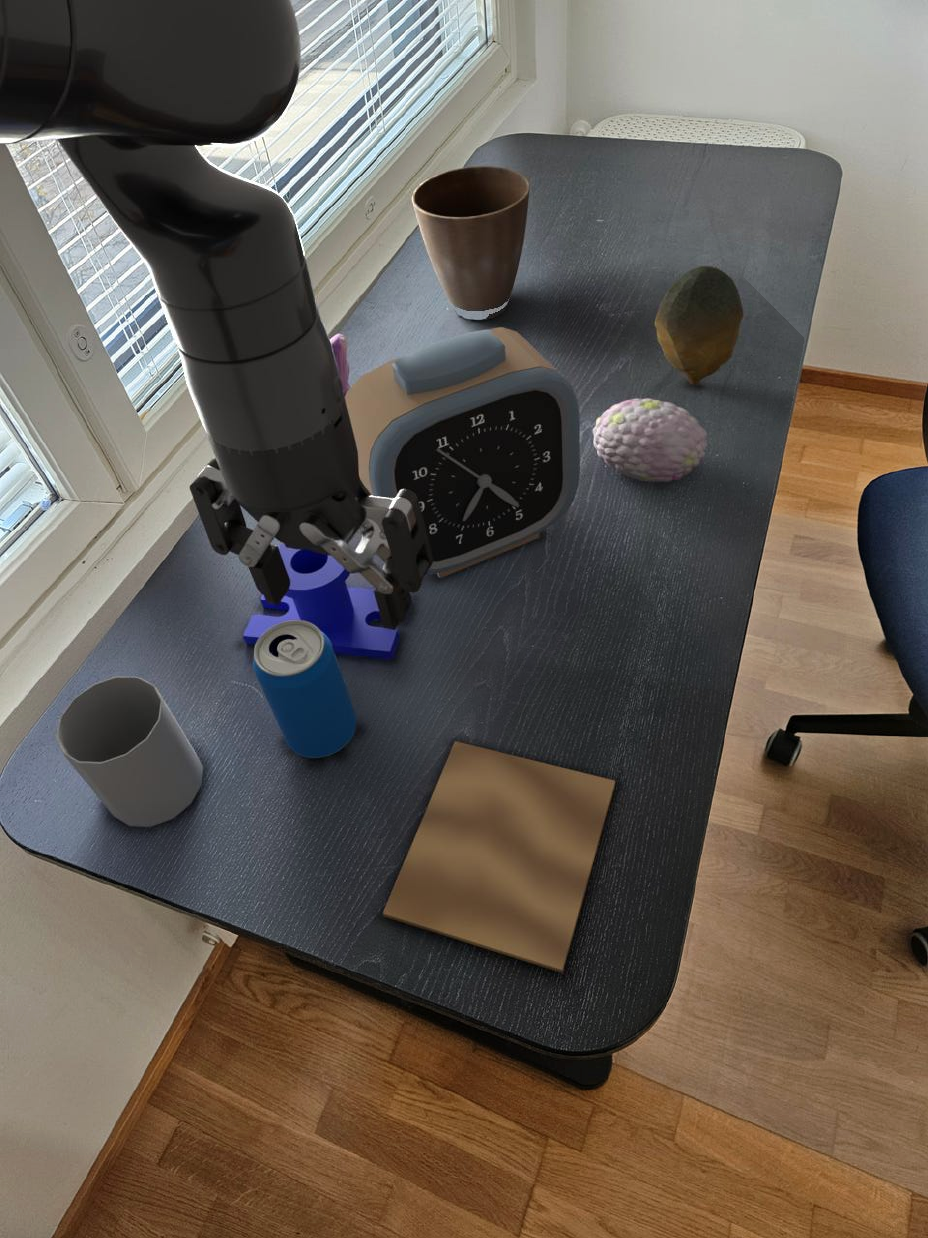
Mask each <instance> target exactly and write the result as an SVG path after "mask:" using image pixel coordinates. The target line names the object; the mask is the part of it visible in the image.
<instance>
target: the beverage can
mask: <svg viewBox="0 0 928 1238" xmlns="http://www.w3.org/2000/svg"><path fill="white" fill-rule="evenodd" d="M337 659H338V658H337V656H336V654H335V653H334V650H333V647H332V644H331V642H330V640H329V638H328V637H327V636H326V635H325V634H324V633H323V632H322V631H320V630H319V629H318V628H317V627H316V626H315V625H313V624H312V623H309V622H306V621H302V620H291V621H285V622H282V623H279V624H277V625H274V626H273V627H271V628H269V629H268V630H267V631H265V632H264V633H263V634H262V635H261V637H260V638H259V639H258V641H257V643H256V645H254V649H253V659H252V661H253V662H252V665H253V666H252V669H253V672H254V674H255V677H256V679H257V682H258V683H259V686H260V688H261V690H262V692H263V695H264V696H265V699H266V701H267V703H268V706H269V708H270V709H271V712H272V714H273V717H274V718H275V720H276V723H277V725H278V727H279V730H280V731H281V733H282V736H283V738H284V740H285V742H286V744H287V746H288V747H289V749H290V750H292V751H293V752H294V753H295V754H297V755H299V756H300V757H304V758H310V759H319V758H325V757H328V756H331V755H333V754H334V755H335V753H338V752H339V751H341V750H342V749H343V748H345V747H346V746H347V745H348V744H349V743H350V741H351V739H352V738H353V737H354V736H355V735H354V734H355V732H356V729H357V725H358V723H357V722H358V721H357V715H356V711H355V710H354V706H353V703H352V701H351V698H350V693H349V691H348V689H347V686H346V682H345V680H344V677H343V674H342V670H341V668H340V665H339V662H338V660H337Z"/></svg>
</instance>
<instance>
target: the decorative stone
mask: <svg viewBox="0 0 928 1238" xmlns="http://www.w3.org/2000/svg"><path fill="white" fill-rule="evenodd" d="M658 308H659V309H658V311H657V313H656V316H655V320H654V326H655V329H656V336H657V341H658V344H659V345H660V347H661V349H662V351H663V356H664V357H665V359H666V360H667V361H668V363H670V364H671V365H672V366H673V368H674V369H676V370H677V371H679V372H680V373H683V375H684V376H685V377H686V379H687V382H689V384H691V385H693V386H698V385H701V382H702V381H703V380H704V379H705V378H707V377H710V376H712V375H714V374H715V373H716V372H717V371H719V370H720V369H721V368H720V367H721V366H723V365H726V363H728V361H729V360H730V359H731V358H732V357H733V353H734V350H735V347H736V345H737V341H738V338H739V337H740V336H739V335H740V327H741V323H742V320H743V318H744V314H745V313H744V308H743V304H742V300H741V296H740V293H739V290H738V288H737V286H736V284H735V282H734V280H733V279H732V278H731V276H729V275H728V274H727V273H726V272H724V271H723V270H721V269H720V268H718V267H715V266H710V265H700V266H697V267H695V268H692V269H690V270H688V271H686V272H685V273H683V274H682V275H681V276H679V277H678V278H677V279H676V280H675V281H674V282H673V283H672V284H671V285H670V286H669V287H668V290H667V291H666V293H665V295H664V297H663V298H662V300H661V302H660V304H659V307H658Z"/></svg>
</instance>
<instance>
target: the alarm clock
mask: <svg viewBox="0 0 928 1238" xmlns="http://www.w3.org/2000/svg"><path fill="white" fill-rule="evenodd" d="M345 400H346V405H347V409H348V413H349V417H350V421H351V425H352V429H353V433H354V438H355V442H356V446H357V450H358V464H359V477H360V479H361V481H362V483H363V484H364V486H365V487H366V488H367V489H368V491H369V492H370V494H371V496H377V497H386V498H396V496H397V494H398V492H399V491H400V490H402V489H408V490H411V491H413V492H414V493H415V494H416V495H417V497H418V501H419V505H420V509H421V512H422V516H423V520H424V524H425V528H426V532H427V536H428V540H429V543H430V547H431V551H432V555H433V559H434V561H433V563H432V565H431V567H430V568H429V570H428V571H427V573H426V575H425V577H426V576H427V577H428V576H432V575H437V577H438V578H439V579H442V578H444V577H447V576H448V575H451V574H453V573H456V572H458V571H461V570H464V569H466V568H468V567H471V566H473V565H476V564H478V563H481V562H483V561H487V560H488V559H491V558H493V557H496V556H498V555H501V554H503V553H505V552H509V551H510V550H512V549H515V548H518V547H520V546H522V545H525V544H527V543H530V542H532V541H534V540H537V539H539V538H540V533H541V532H543V531H545V530H546V529H548V528H550V527H552V526H554V525H556V523H557V522H559V520H560V519H561V518H562V517H564V516H565V514H567V512H568V510H569V509H570V507H571V506H572V504H573V503H574V501H575V498H576V495H577V493H578V489H579V485H580V474H581V463H580V462H581V451H580V449H581V447H580V446H581V445H580V444H581V443H580V441H581V439H580V437H581V436H580V435H581V434H580V431H581V430H580V428H581V427H580V426H581V425H580V422H581V421H580V405H579V399H578V397H577V395H576V391H575V390H574V387H573V385H572V383H570V382H569V381H568V380H567V379H566V378H565V377H564V376H563V375H562V374H561V373H560V371H558V370H557V369H556V368H555V367H554V366H553V365H552V364H551V363H550V362H549V361H548V360H547V359H546V358H545V357H544V356H543V355H542V354H541V353H540V352H539V351H538V350H537V349H536V348H535V347H533V345H531V344H530V342H529V341H528V340H527V339H526V338H524V337H523V335H521V334H520V333H519V332H518V331H516V330H512V329H509V328H506V327H495V328H486V329H481V330H475V331H470V332H466V333H460V334H457V335H453V336H450V337H446V338H442V339H440V340H437V341H434V342H431V343H429V344H427V345H424V346H422V347H419V348H417V349H415V350H413V351H411V352H408V353H407V354H405V355H403V356H402V357H399V358H398V357H397V358H395V359H392V360H390V361H388V362H386V363H384V364H383V365H381V366H378V367H377V368H375V369H372V370H370V371H369V372H367V373H364V374H363V375H361V376H360V377H358V379H357V380H356V381H355V382H354V383H353V384H352V386H351V388H350V389H349V390H348V391H347V394H346V396H345Z"/></svg>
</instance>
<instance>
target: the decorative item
mask: <svg viewBox="0 0 928 1238" xmlns="http://www.w3.org/2000/svg"><path fill="white" fill-rule="evenodd" d="M592 436H593V442H592V444H593V446H594V448H595V450H596V451H597V452H596V453H597V456H598V457H599V458H600V459H601V460H602V461H604V463H605V464H606V465H607V466H608V467H609V468H611V469H613V470H615V471H616V472H618V473H619V474H622V475H623V476H624V477H629V478H634V479H636V480H638V481H643V482H646V481H647V482H655V483H658V482H660V483H661V482H671V481H673V480H674V481H677V480H680V479H681V478H683V476H687V475H688V474H689V473H691V472H692V470H693V468H695V467H697V466H698V465H699V464H700V460H702V459H704V458H705V456H706V453H705V450H706V448H707V446H708V445H707V444H708V442H707V441H706V438H707V437H708V436H707V431H706V430H705V429H704V428H703V427H702V426H701V425H700V424H699V421H698V419H697V418H696V417H694V416H693V415H691V414H690V412H689V411H688V410H686V409H684V408H682V407H681V406H677V405H676V404H674V403H673V402H668V401H662V400H657V399H653V398H649V397H648V398H647V397H646V398H632V399H626V400H624V401H621V402H619V403H615V404H613V405H612V406H610V408H608V409H607V410H605V411H604V412H603V413H602V415H601V416H599V417H597V418H596V422H595V426H594V428H593V429H592Z"/></svg>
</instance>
